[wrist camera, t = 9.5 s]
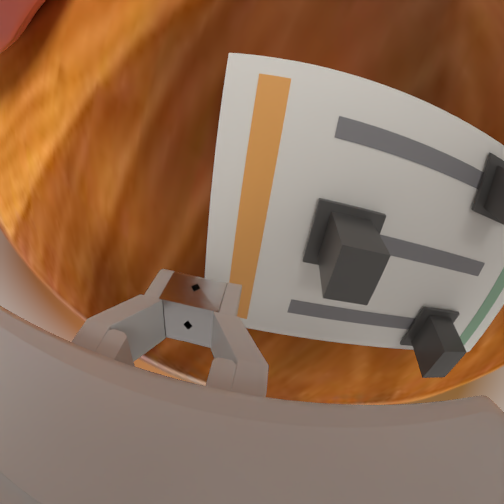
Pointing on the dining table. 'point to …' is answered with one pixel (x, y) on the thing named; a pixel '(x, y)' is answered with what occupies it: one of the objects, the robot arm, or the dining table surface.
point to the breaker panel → (348, 202)
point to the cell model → (15, 19)
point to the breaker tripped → (347, 250)
